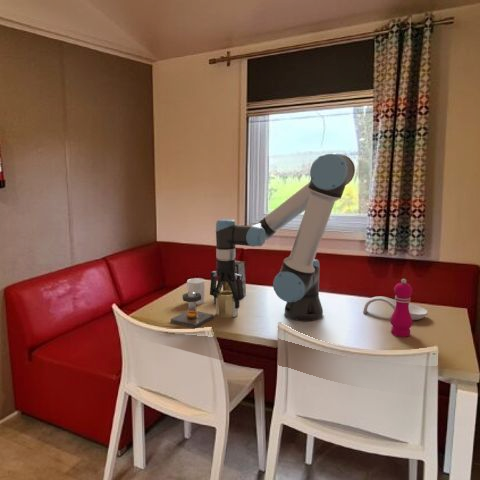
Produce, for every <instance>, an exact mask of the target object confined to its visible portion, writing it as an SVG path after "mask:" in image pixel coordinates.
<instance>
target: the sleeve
mask: <svg viewBox="0 0 480 480" xmlns="http://www.w3.org/2000/svg"><path fill="white" fill-rule="evenodd" d="M233 301H234V297H233V294H232V291H223V290H221V291H220V292H218V293H217V313H216V315H217V316H218V317H219V318H223V319H231V318H234V317H233Z"/></svg>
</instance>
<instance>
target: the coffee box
mask: <svg viewBox="0 0 480 480" xmlns="http://www.w3.org/2000/svg"><path fill="white" fill-rule="evenodd" d="M235 271H236V274H239V275H240V274H242V275H243V277H242V286H243V294H244V297H246V296H247V294H246V293H247V291H246V290H247V286H246V284H247V283H246V282H247V281H246V280H247V279H246V261H241V260H236V268H235ZM235 278H236V277H234V280H235V285H236V279H235ZM231 282H232V281H231ZM236 288H237V285H236ZM222 291H231V289H230V286H229V285H228V282H223V285H222Z"/></svg>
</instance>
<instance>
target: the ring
mask: <svg viewBox="0 0 480 480" xmlns="http://www.w3.org/2000/svg"><path fill="white" fill-rule="evenodd" d="M199 300H201V294H200V293H196V296H194V297H189V296H188V292H186V293H184V294H182V301H183V302H186V303H188V302H197V301H199Z"/></svg>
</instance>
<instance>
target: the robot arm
mask: <svg viewBox="0 0 480 480" xmlns="http://www.w3.org/2000/svg"><path fill="white" fill-rule="evenodd" d="M309 169H310V170H309V176H310V180H309V182H308V183H306V184H305V185H304V186H303V187H302V188H300V189H299V190H298V191H296V192H295V193H294V194H292V195H291V196H290V197H289V198H287V199H286V200H285V201H283V202H282V203H281V204H280V205H278V206H277V207H276V208H275V209H274V210H272V211H271V212H270V213H269V214H267V215H266V216H265V217H263V218H262V219H260V221H257V223H253V224H250V225H237V224H236V221H235V219H231V218H223V219H218V220H217V221H216V222H215V243H216V249H215V253H216V255H215V256H216V270H213V271H210V287H209V296H212V297H213V300H214V305H215V314H217V293H218V292H220V291H222V289H223V282H228V285H229V286H230V289H231V291H232V294H233V297H234V301H233V317H232V318H235V317H236V316H238V315H239V308H240V301H242V300H244V298H245V296H244V294H243V286H242V277H243V275H242V274H240V275H239V274H236V271H235V268H236V261H237V259H236V245H237V246H247V247H254V248H255V247H262V246H263V245H264V244H265V242H266V241H267V240H269V239H271V238H272V237H273V236H274V235H275V234H276V233H277V232H278V231H280V230H281V229H282V228H283V227H285V226H286V225H287V224H289V223H290V222H292V221H293V220H295V219H296V218H297V217H299V216H301V214H302V213H303V216H302V219H301V221H300V224H299V228H298V230H297V232H296V233H297V234H296V236H295V238H294V242H293V245H292V248H291V251H290V255H288V257H286V258H285V257H284V259H283V262H282V265H281V268H280V270H279V272H278V273H277V274H276V275H275V277H274V279H273V281H272V287H273V290H274V292H275V294H276V296H277V297H278V298H279V299H280V300H282V301H284V302H286V304H285V307H284V315H285V317H287V318H288V319H292V320H295V321H300V322H301V321H302V322H303V321H304V322H306V321H307V322H308V321H317V320H320V319H321V318H322V317H323V314H324V313H323V312H324V310H323V306H322V303H321V299H320V296H319V292H320V286H319V285H320V270H321V268H320V267H321V266H320V261H319V260H318V259H317V258H316V256H317V252H318V250H319V247H320V244H321V241H322V238H323V236H324V233H325V231H326V228H327V225H328V222H329V219H330V217H331V214H332V212H333V209H334V205H335V203H336V202H337V201H339V200H340V199H342V196H343V194H344V191H345V189H346V185H348V184H350V182H351V181H352V180H353V179H354V177H355V172H356V166H355V164H354V161H353V160H352V159H351V158H350V157H349V156H347V155H346V154H342V153H336V152H328V153H324V154H321V155H320V156H318V157H317V158H316V159H315V160H314V161H313V163H312V164H311V167H310V168H309ZM315 258H316V259H315ZM234 277H236V278H235V279H236V285H237V288H236V285H235V280H234ZM231 281H232V282H231Z"/></svg>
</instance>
